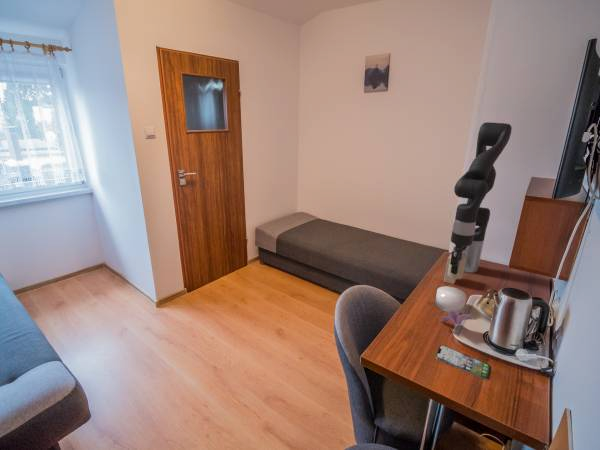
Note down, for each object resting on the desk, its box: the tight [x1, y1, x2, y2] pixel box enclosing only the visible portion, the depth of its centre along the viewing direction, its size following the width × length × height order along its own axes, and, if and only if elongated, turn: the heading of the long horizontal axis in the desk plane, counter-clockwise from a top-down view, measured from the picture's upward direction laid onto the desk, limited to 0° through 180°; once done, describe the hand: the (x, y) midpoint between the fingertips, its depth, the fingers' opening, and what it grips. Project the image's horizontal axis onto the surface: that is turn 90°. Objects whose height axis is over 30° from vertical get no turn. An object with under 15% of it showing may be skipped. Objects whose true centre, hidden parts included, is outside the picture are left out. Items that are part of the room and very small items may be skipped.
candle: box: [448, 255, 466, 280], centre depth 120 cm, size 6×6×10 cm
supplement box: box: [443, 253, 458, 286], centre depth 144 cm, size 8×5×13 cm, turn 143°
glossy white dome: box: [434, 285, 468, 314], centre depth 125 cm, size 11×11×6 cm
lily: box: [438, 310, 476, 336], centre depth 111 cm, size 12×12×10 cm
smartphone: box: [435, 344, 491, 380], centre depth 97 cm, size 7×1×15 cm
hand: (456, 270), depth 121 cm, fingers closed on candle, 5 cm apart
